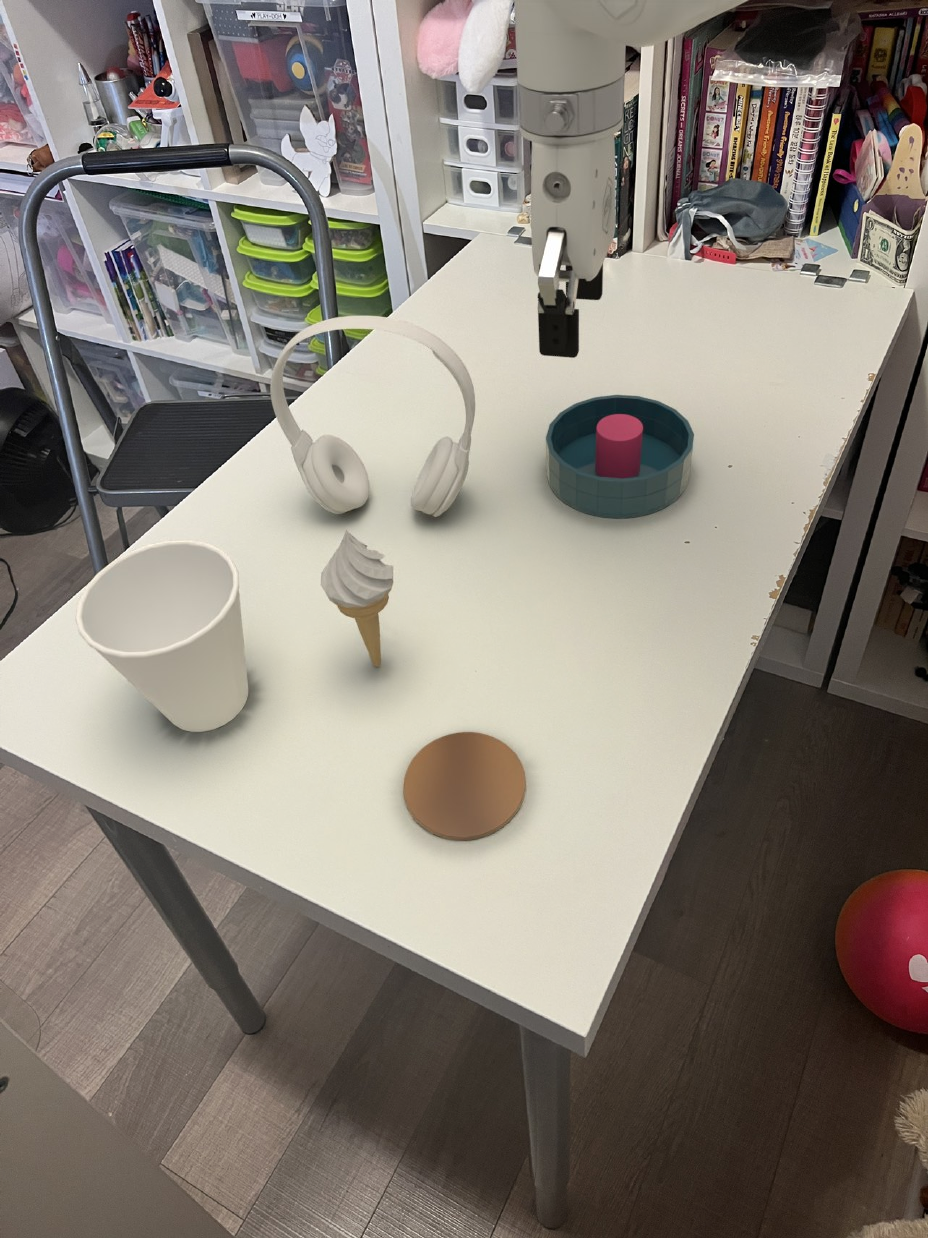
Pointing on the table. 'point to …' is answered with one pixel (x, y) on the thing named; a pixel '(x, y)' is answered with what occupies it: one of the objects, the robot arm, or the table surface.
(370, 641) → the ice cream cone
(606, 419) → the pink cylinder block
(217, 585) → the cup
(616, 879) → the table surface
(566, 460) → the bowl
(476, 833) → the coaster
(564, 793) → the table surface
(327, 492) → the headphones
